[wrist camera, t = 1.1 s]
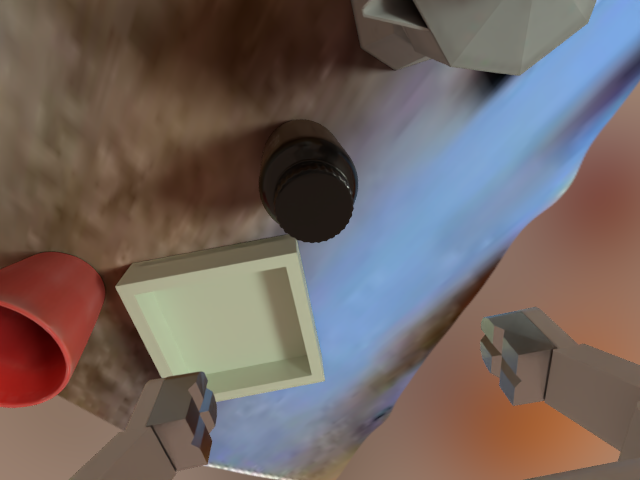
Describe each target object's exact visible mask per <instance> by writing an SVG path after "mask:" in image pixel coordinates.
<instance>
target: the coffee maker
mask: <svg viewBox="0 0 640 480" xmlns="http://www.w3.org/2000/svg"><path fill="white" fill-rule="evenodd" d="M595 3H596V0H351V4H352V9H353V13H354V18H355V23H356V28H357V33H358V37H359V42H360V47H361V48H362V49H363V50H365V51H366V52H368V53H369V54H371V55H372V56H374V57H375V58H377V59H378V60H380V61H381V62H383V63H384V64H386V65H388V66H389V67H391V68H392V69H394V70H398V69H402V68H405V67H408V66H411V65H414V64H417V63H420V62H423V61H426V60H430V59H434V60H436V61H439V62H441V63H443V64H446V65H448V66H449V67H456V68H464V69H472V70H479V71H487V72H495V73H503V74H510V75H519V76H520V75H521V74H522V73H524V72H525V71H526V70H528V69H529V68H530V67H531V66H533V65H534V64H535V63H537V62H538V61H539V60H541V59H542V58H543V57H544V56H546V55H547V54H548V53H550V52H551V51H552V50H554V49H555V48H556V47H557V46H559V45H560V44H561V43H563V42H564V41H565V40H567V39H568V38H569V37H570V36H572V35H573V34H574V33H576V32H577V31H578V30H580V29H581V28H582V27H583V26H585V25H586V24H587V23H588V22H589V19H590V16H591V14H592V11H593V8H594V6H595Z"/></svg>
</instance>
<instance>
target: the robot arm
mask: <svg viewBox="0 0 640 480" xmlns="http://www.w3.org/2000/svg"><path fill="white" fill-rule="evenodd" d="M481 329H482V331H483V332H484V333H485V336H484V337H483V338H482V339H481V353H482V357H483V360H484V362H485V365H486V367H487V368H488V370H489V371H490V373H492V374H493V375H495V376H497V377H499V378H500V385H499V386H500V387H501V389H502V390H503V392H504V393H505V395H506V396H507V398H508V399H509V401H510V402H511V403H512V405H514V406H515V405H521V404H527V403H533V402H539V401H545V403H547V404H548V405H550V406H551V407H553V408H554V409H556V410H557V411H559V412H561V413H562V414H563V415H565V416H567V417H568V418H570V419H571V420H573V421H574V422H576V423H578V424H579V425H580V426H582V427H584V428H585V429H587V430H588V431H590V432H592V433H593V434H594V435H596V436H597V437H599V438H600V439H602V440H604V441H605V442H607V443H608V444H610V445H611V446H613V447H614V448H616V449H618V450H619V451H620V452H621V453H620V456H619V459H618V462H613V463H607V464H602V465H597V466H592V467H588V468H582V469H577V470H571V471H566V472H562V473H556V474H551V475H546V476H540V477H535V478H531V479H525V480H640V365H638V364H635V363H632V362H630V361H627V360H625V359H622V358H620V357H617V356H614V355H612V354H609V353H606V352H604V351H602V350H599V349H596V348H594V347H591V346H589V345H586V344H580V345H578V344H577V343H576V342H575V341H574V340H573V339H572V338H571V337H570V336H569V335H568V334H566V333H565V332H564V331H563V330H562V329H561V328H560V327H559V326H558V325H557V324H556V323H555V322H554V321H552V320H551V319H550V318H549V317H548V316H547V315H546V314H545V313H544V312H543V311H542V310H540V309H539V308H537V307H533V308H528V309H523V310H518V311H514V312H509V313H504V314H499V315H494V316H489V317H484V318H483V320H482V322H481ZM207 383H208V379H207V377H206V375H205V373H204V372H202V371H199V372H193V373H187V374H181V375H175V376H169V377H166V378H159V379H153V380H149V381H148V382H147V383H146V384H145V386H144V388H143V391H142V393H141V395H140V397H139V400H138V402H137V404H136V406H135V409H134V411H133V413H132V415H131V418H130V420H129V422H128V424H127V427H126V429H125V431H124V432H119V433H118V434H117V435H116V436H115V437H114V438H113V439H111V440H110V442H108V443H107V444H106V445H105V446H104V447H103V448H102V449H101V450H100V451H99V452H98V453H97V454H95V456H93V457H92V458H91V459H90V460H89V461H88V462H87V463H86V464H85V465H84V466H83V467H82V468H81V469H80V470H78V471H77V472H76V473H75V475H73V476H72V477H71V478H70V479H69V480H172V479H173V477H174V476H175V475H176V471H180V470H185V469H189V468H194V467H198V466H203V465H207V464H208V460H209V455H210V450H211V445H212V439H211V437H210V435H209V433H210V432H211V430H212V429H213V428H214V427H215V424H216V418H217V405H216V400H215V396H214V394H213V392H212V391H211V390H209V389H207V388H206V387H207Z"/></svg>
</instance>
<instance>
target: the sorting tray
mask: <svg viewBox="0 0 640 480" xmlns="http://www.w3.org/2000/svg"><path fill="white" fill-rule="evenodd" d="M115 288H116V290H117V292H118V293H119V295H120V297H121V299H122V301H123V303H124V305H125V307H126V309H127V311H128V313H129V315H130V317H131V319H132V321H133V323H134V325H135V327H136V329H137V331H138V333H139V335H140V337H141V338H142V340H143V342H144V344H145V346H146V348H147V350H148V352H149V354H150V356H151V358H152V360H153V362H154V364H155V366H156V368H157V370H158V372H159V374H160V376H161V378H166V377H169V376H175V375H181V374H187V373H193V372H199V371H202V372H204V373H205V375H206V377H207V379H208V383H207V387H206V388H207V389H209V390H211V391H212V392H213V394H214V396H215V400H216V402H218V401H223V400H228V399H234V398H239V397H244V396H249V395H255V394H260V393H265V392H270V391H275V390H281V389H286V388H291V387H296V386H302V385H307V384H312V383H317V382H322V381H325V378H324V370H323V363H322V355H321V350H320V345H319V341H318V336H317V331H316V327H315V322H314V318H313V313H312V308H311V304H310V299H309V294H308V290H307V285H306V280H305V276H304V271H303V266H302V262H301V257H300V252H299V248H298V243H297V239H295V238H293V237H291V236H290V235H289V234H287V235H281V236H276V237H271V238H265V239H260V240H255V241H249V242H244V243H239V244H233V245H228V246H223V247H217V248H212V249H207V250H201V251H196V252H191V253H185V254H180V255H175V256H169V257H164V258H158V259H153V260H148V261H142V262H137V263H132V264H131V266H130V267H129V268H128V270H127V271H126V272H125V274H124V275H123V277H122V278H121V279H120V281H119V282H118V283H117V285H116V286H115Z"/></svg>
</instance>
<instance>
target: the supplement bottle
mask: <svg viewBox="0 0 640 480" xmlns="http://www.w3.org/2000/svg"><path fill="white" fill-rule="evenodd" d="M259 192H260V197H261V201H262V203H263V206H264V208H265V209H266V211H267V213H268V214H269V215H270V216H271V218H272V219H273V220H274V221H276V222H277V223H278V224H280V227H281V228H283V229H284V231H285V233H288V234H289V235H290V236H291V237H293V238H295V239H297V240H301V241H303V242H310V243H314V242H318V243H320V242H322V241H327V240H328V239H330V238H334V237H335V235H337V234H339V233H340V232H341V230H343V229H345V227H346V225H347V224H348V223H349V219H350V218H351V216H352V211H353V209H354V208H353V205H354V202H355V200H356V196H357V192H358V176H357V172H356V169H355V166H354V164H353V162H352V160H351V158H350V157H349V155H348V154H347V152H346V151H345V150H344V149H343V147H342V146H341V145H340V143H339V142H338V141H337V139H336V138H335V137H334V136H333V134H332V133H331V132H330V131H329V130H328V129H327V128H325V127H324V126H322V125H321V124H319V123H316V122H314V121H310V120H293V121H289V122H287V123H284V124H283V125H281V126H279V127H278V128H277V129H276V130H275V131H274V132H273V133H272V134H271V135H270V137H269V138H268V140H267V142H266V144H265V147H264V150H263V155H262V162H261V169H260V176H259Z"/></svg>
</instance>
